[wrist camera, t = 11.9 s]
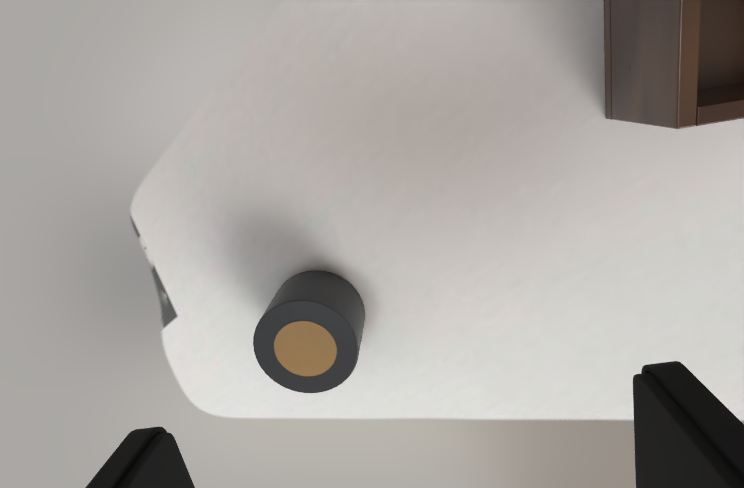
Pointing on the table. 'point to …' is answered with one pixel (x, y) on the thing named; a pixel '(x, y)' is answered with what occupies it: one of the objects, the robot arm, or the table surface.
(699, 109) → the chest
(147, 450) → the robot arm
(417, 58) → the table surface
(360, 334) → the tape
